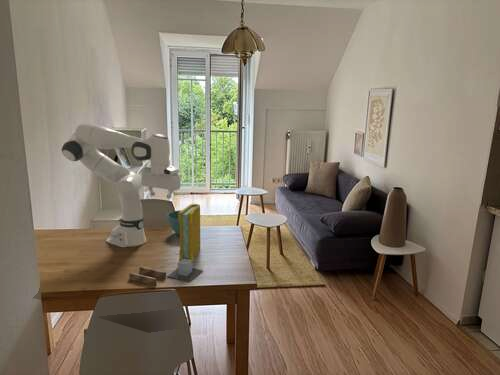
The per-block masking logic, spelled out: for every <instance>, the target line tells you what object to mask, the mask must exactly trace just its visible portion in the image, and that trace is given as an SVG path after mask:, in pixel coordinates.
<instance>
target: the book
mask: <svg viewBox="0 0 500 375" xmlns="http://www.w3.org/2000/svg"><path fill="white" fill-rule="evenodd" d="M180 210H181V209H180ZM178 216H179V222H180V235H179V252H178V254H179V255H178V257H179V260H182V259H189V260H192V261H193V260H194V258H195V257H196V256H197V254H198V253H199V252H200V251H201V205H200V204H199V203H192V204H189V205H188V206H186V207H185V208H183V209H182V210H181V211H180V212H178Z"/></svg>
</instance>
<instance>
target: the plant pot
mask: <svg viewBox="0 0 500 375" xmlns="http://www.w3.org/2000/svg"><path fill="white" fill-rule="evenodd" d="M180 211H181V209H180V210H179V209H178V210H175V211H171V212H169V213H168V214H167V219H168V223H169V226H170V227H171V229H172V231H173V232H174V233H175V234H176V235H177V236H180V222H179V216H178V212H180Z"/></svg>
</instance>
